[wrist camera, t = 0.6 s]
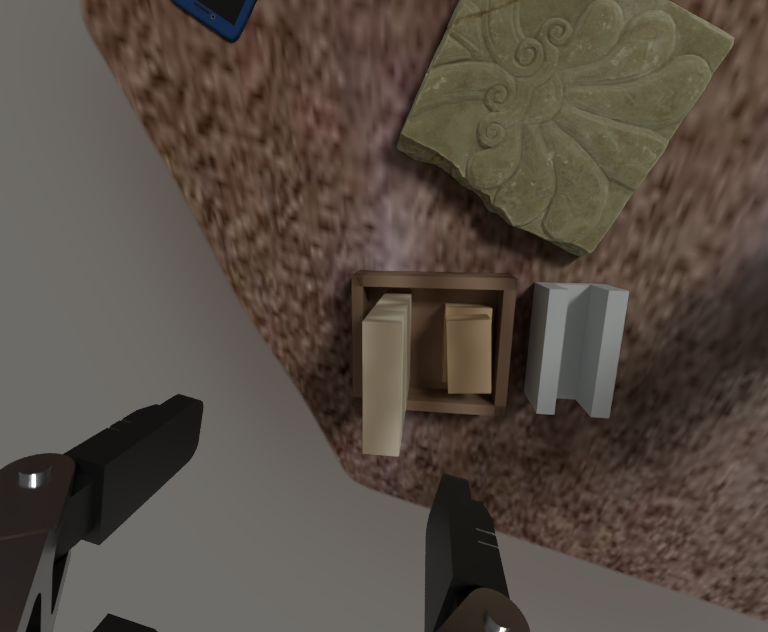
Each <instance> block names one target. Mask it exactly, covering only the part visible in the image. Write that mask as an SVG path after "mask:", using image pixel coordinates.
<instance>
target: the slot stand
mask: <svg viewBox="0 0 768 632" xmlns="http://www.w3.org/2000/svg"><path fill="white" fill-rule="evenodd" d="M628 296H629V291H627V290H623V289H620V288H616V287H613V286H609V285H606V284H589V283H546V282H535V284H534V294H533V304H532V314H531V324H530V334H529V344H528V354H527V365H526V375H525V385H524V393H525V395H526V397H527V399H528V400H529V402H530V404H531V405H532V407H533V409H534V410H535V412H536V414H550V415H554V414H555V405H556V398H559V399H575V400H576V401H577V402H578V403H579V404H580V405H581V407H582V408H583V409H584V410H585V411H586V412H587V413H588V415H589V416H590V417H596V418H610V411H611V405H612V398H613V392H614V386H615V379H616V373H617V366H618V360H619V354H620V347H621V341H622V334H623V328H624V322H625V315H626V309H627V302H628Z"/></svg>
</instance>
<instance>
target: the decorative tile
mask: <svg viewBox="0 0 768 632" xmlns="http://www.w3.org/2000/svg"><path fill="white" fill-rule="evenodd" d="M733 44H734V38H733V37H732V36H731V35H729V34H728V33H726V32H724V31H723V30H721V29H719V28H717V27H715V26H714V25H712V24H710V23H709V22H707V21H705V20H703V19H701V18H700V17H698V16H696V15H694V14H692V13H690V12H689V11H687V10H685V9H683V8H681V7H680V6H678V5H676V4H674V3H673V2H671V1H669V0H459V1H458V4H457V6H456V8H455V10H454V12H453V14H452V17H451V19H450V21H449V24H448V26H447V29H446V32H445V34H444V36H443V39H442V41H441V43H440V45H439V47H438V49H437V51H436V52H435V55H434V57H433V59H432V61H431V64H430V66H429V68H428V71H427V73H426V75H425V77H424V79H423V82H422V84H421V86H420V89H419V91H418V93H417V95H416V98H415V100H414V103H413V105H412V108H411V110H410V112H409V115H408V117H407V119H406V122H405V124H404V126H403V128H402V131H401V133H400V138H399V142H398V145H397V149H398V150H399V151H401V152H403V153H405V154H406V155H407V156H409V157H411V158H412V159H414V160H416V161H421V162H425V163H429V164H435V165H437V166H438V167H439V168H442V169H443V170H444V171H446V172H447V173H448V174H450V175H451V176H452V177H453V178H455V179H456V180H457V181H458V183H459V184H460V186H462V187H464V188H467V189H469V190H471V191H473V192H474V193H476V194H477V195H478V196H479V197H480V199H481V200H482V201H483V203H484V205H485V207H486V208H487V210H489V211H490V212H492V213H496V214H498V215H499V216H500V217H502V218H503V219H504V220H505V222H506V223H508V224H509V225H511V226H513V227H516V228H520V229H522V230H525V231H528V232H529V233H531V234H534V235H536V236H538V237H540V238H542V239H544V240H546V241H549V242H551V243H552V244H554V245H556V246H558V247H560V248H561V249H563V250H566V251H567V252H569V253H571V254H574V255H577V256H584V255H587V254H590V253H591V252H593V251H594V249H595V248H596V246H597V245H598V244H599V242H600V241H601V240H602V238H603V237H604V235H605V234H606V232H607V231H608V230H609V228H610V227H611V225H612V224H613V222H614V221H615V219H616V218H617V217H618V215H619V214H620V212H621V211H622V209H623V207H624V206H625V204H626V203H627V201H628V200H629V198H630V197H631V196H632V194H633V193H634V191H635V190H636V189H637V188H638V187H639V185H640V184H641V183H642V182H643V180H644V179H645V177H646V176H647V174H648V173H649V171H650V170H651V169H652V167H653V166H654V165H655V163H656V162H657V161H658V159H659V158H660V156H661V155H662V153H663V152H664V150H665V149H666V147H667V145H668V143H669V140H670V139H671V137H672V136H673V134H674V133H675V131H676V129H677V128H678V126H679V125H680V123H681V122H682V120H683V119H684V118H685V116H686V115H687V114H688V112H689V111H690V110H691V108H692V107H693V106H694V104H695V103H696V101H697V100H698V98H699V97H700V95H701V94H702V92H703V91H704V89H705V87H706V86H707V84H708V82H709V81H710V79H711V77H712V75H713V73H714V72H715V70H716V69H717V67H718V66H719V65H720V63H721V62H722V61H723V59H724V58H725V57H726V55H727V53H728V52H729V50H730V49H731V48H732V46H733Z"/></svg>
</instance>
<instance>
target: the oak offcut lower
mask: <svg viewBox="0 0 768 632" xmlns="http://www.w3.org/2000/svg"><path fill="white" fill-rule="evenodd" d="M470 314H487V315H488V316H489V317H490V319H491V322H492V308H491V306H490V305H489V304H476V303H445V311H444V333H443V355H442V382H447V362H446V324H445V315H470Z"/></svg>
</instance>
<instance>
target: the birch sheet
mask: <svg viewBox="0 0 768 632" xmlns="http://www.w3.org/2000/svg"><path fill="white" fill-rule="evenodd" d="M411 320H412V291H389V290H387V291H386V292H385V294H384V295H383V296H382V297H381V299H380V300H379V301H378V303H377V304H376V305H375V306H374V308H373V309H372V310H371V311H370V313H369V314H368V315H367V316H366V318H365V319H364V320H363V321H362V360H363V454H374V455H386V456H398V457H399V453H400V446H401V439H402V432H403V425H404V418H405V411H406V404H407V397H408V390H409V383H410V358H411Z"/></svg>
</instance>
